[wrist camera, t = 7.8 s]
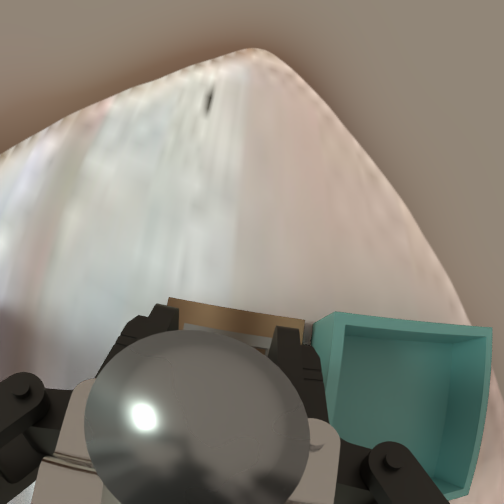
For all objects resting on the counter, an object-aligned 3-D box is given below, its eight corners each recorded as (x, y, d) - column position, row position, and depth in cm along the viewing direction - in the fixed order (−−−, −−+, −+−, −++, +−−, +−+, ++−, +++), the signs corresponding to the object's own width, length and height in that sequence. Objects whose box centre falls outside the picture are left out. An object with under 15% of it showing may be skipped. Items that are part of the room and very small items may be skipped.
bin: (286, 490, 21) (300, 519, 15) (313, 323, 26) (335, 311, 20) (432, 480, 21) (467, 494, 15) (453, 337, 26) (492, 327, 20)
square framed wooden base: (149, 426, 22) (138, 433, 19) (171, 300, 26) (163, 291, 23) (282, 449, 22) (289, 459, 19) (301, 321, 26) (310, 315, 23)
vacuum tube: (167, 419, 14) (41, 513, 3) (182, 333, 16) (77, 253, 4) (257, 435, 14) (321, 572, 3) (271, 349, 16) (374, 307, 4)
